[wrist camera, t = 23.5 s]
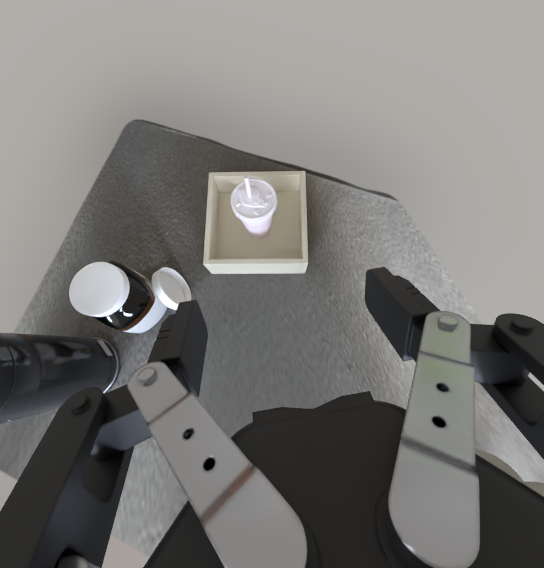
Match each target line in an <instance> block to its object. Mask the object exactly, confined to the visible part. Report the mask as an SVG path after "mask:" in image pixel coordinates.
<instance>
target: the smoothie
mask: <svg viewBox="0 0 544 568" xmlns="http://www.w3.org/2000/svg"><path fill="white" fill-rule="evenodd" d="M231 205H232V209H233V212H234V213H235V215H236V216H237V217H238V218H240V219H241V221H242V222H243V224H244V226H245V227H246V229H247V230H248V232H249V234H250V235H251V236H252V237H253V238H255V239H263V238H265V237H266V236H267V235H268V234H269V232H270V227H271V222H272V216H273V213H274V211H275V209H276V207H277V196H276V192H275V190H274V188H273V187H272V186H271V185H270V184H269V183H268V182H266V181H264V180H262V179H256V178H253V179H249V177H248V175H244V181H242V182H241V183H239V184H238V185H237V186H236V187H235V188H234V190H233V192H232V195H231Z"/></svg>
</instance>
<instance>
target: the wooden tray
mask: <svg viewBox="0 0 544 568" xmlns="http://www.w3.org/2000/svg"><path fill="white" fill-rule="evenodd" d="M244 175H248V177H249V179H253V178H256V179H262V180H264V181H266V182H268V183H269V184H270V185H271V186H272V187H273V188H274V190H275V192H276V196H277V207H276V209H275V211H274V213H273V216H272V222H271V227H270V232H269V234H268V235H267V236H266V237H265V238H263V239H255V238H253V237H252V236H251V235H250V234H249V232H248V230H247V229H246V227H245V226H244V224H243V222H242V221H241V219H240V218H238V217H237V216H236V215H235V213H234V212H233V209H232V205H231V195H232V192H233V190H234V188H235V187H236V186H237V185H238V184H239V183H241V182H242V181H244ZM203 264H204V266H205V267H206V268H207V269H208V270H209V271H210V272H211V273H212V274H264V273H305V271H306V268H307V265H308V240H307V207H306V173H305V171H271V172H214V173H209V182H208V198H207V213H206V229H205V244H204V260H203Z"/></svg>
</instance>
